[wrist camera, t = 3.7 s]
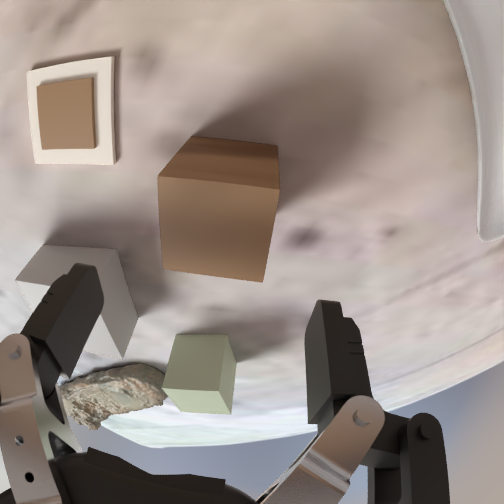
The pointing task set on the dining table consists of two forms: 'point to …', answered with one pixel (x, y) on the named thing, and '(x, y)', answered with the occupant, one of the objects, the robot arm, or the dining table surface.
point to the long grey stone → (112, 393)
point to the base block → (112, 282)
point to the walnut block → (219, 208)
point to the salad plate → (485, 102)
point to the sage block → (201, 374)
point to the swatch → (73, 112)
